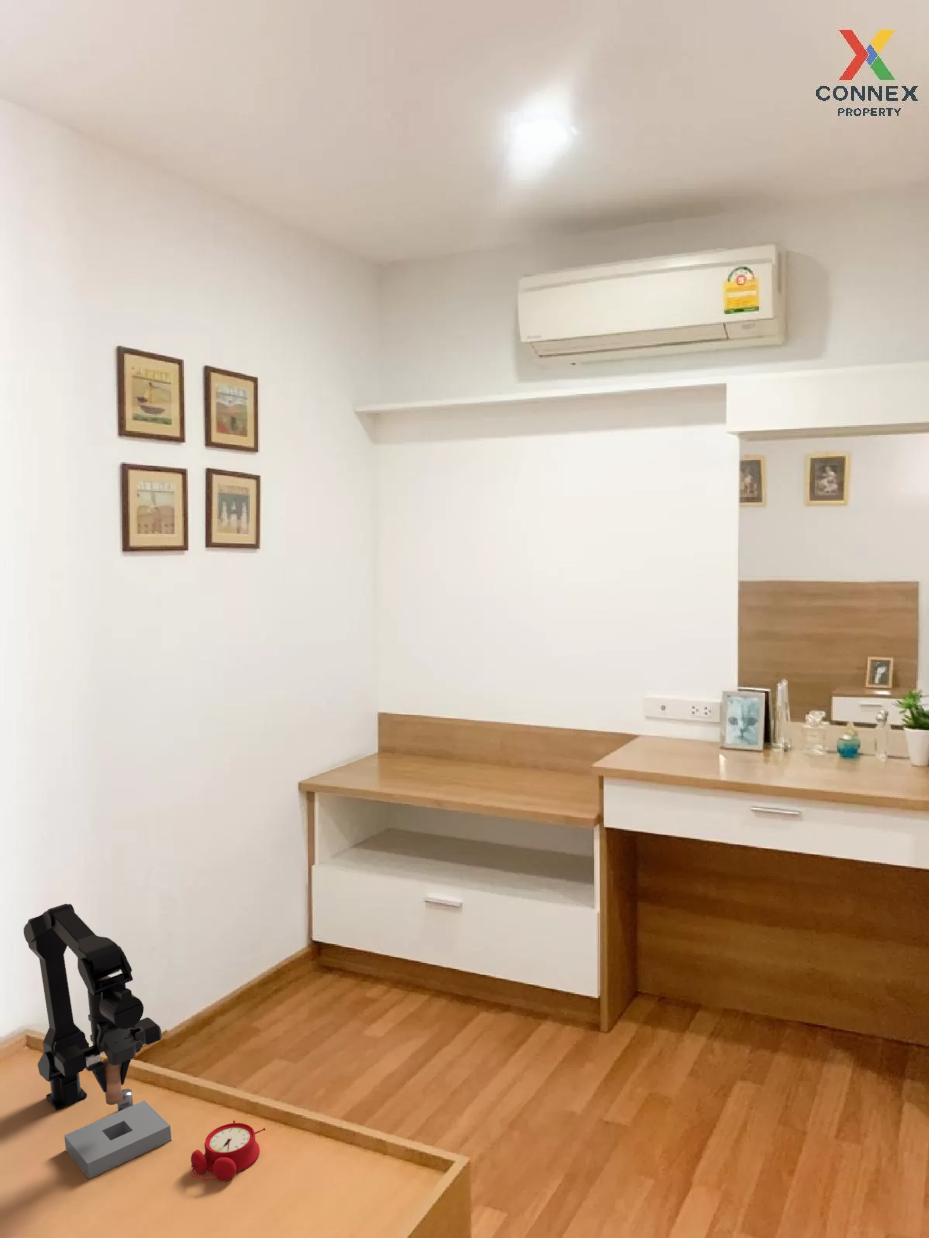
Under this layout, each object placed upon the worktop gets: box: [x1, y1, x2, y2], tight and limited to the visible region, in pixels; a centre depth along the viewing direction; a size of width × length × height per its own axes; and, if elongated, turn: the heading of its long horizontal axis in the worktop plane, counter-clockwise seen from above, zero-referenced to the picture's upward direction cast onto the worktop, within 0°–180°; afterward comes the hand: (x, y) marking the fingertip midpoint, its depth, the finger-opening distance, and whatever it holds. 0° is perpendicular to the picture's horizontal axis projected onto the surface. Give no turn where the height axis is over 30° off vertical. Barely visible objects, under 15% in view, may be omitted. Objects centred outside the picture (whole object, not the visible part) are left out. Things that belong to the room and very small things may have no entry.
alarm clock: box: [190, 1120, 266, 1182], centre depth 187 cm, size 10×6×15 cm
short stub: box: [116, 1088, 134, 1112], centre depth 205 cm, size 3×3×4 cm
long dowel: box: [102, 1057, 123, 1106], centre depth 192 cm, size 3×3×8 cm
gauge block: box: [63, 1100, 172, 1180], centre depth 194 cm, size 12×16×3 cm
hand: (113, 1087), depth 193 cm, fingers closed on long dowel, 3 cm apart
